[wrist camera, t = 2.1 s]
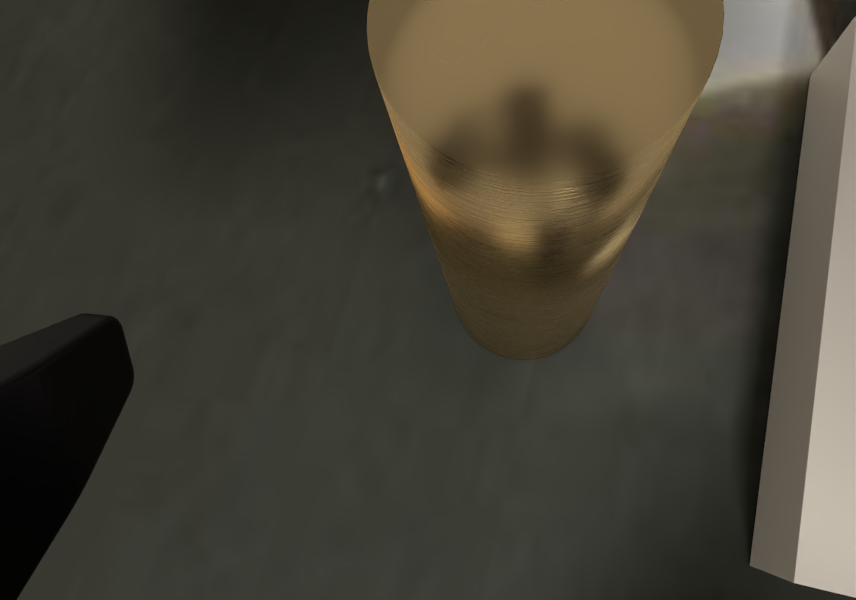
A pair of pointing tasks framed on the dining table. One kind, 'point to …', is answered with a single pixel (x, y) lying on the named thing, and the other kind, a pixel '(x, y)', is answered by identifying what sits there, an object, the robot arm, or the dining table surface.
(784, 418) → the socket block
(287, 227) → the dining table surface
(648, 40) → the brass tube
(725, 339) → the dining table surface
